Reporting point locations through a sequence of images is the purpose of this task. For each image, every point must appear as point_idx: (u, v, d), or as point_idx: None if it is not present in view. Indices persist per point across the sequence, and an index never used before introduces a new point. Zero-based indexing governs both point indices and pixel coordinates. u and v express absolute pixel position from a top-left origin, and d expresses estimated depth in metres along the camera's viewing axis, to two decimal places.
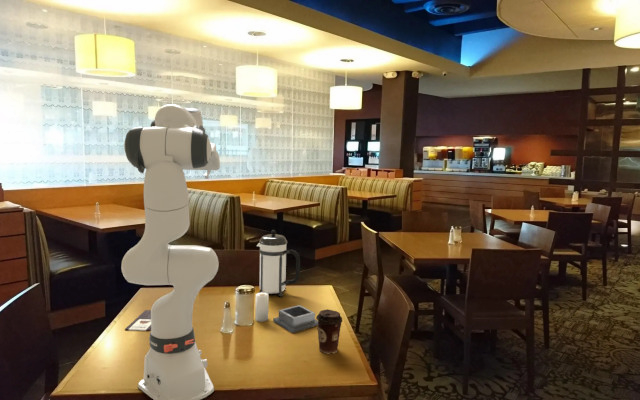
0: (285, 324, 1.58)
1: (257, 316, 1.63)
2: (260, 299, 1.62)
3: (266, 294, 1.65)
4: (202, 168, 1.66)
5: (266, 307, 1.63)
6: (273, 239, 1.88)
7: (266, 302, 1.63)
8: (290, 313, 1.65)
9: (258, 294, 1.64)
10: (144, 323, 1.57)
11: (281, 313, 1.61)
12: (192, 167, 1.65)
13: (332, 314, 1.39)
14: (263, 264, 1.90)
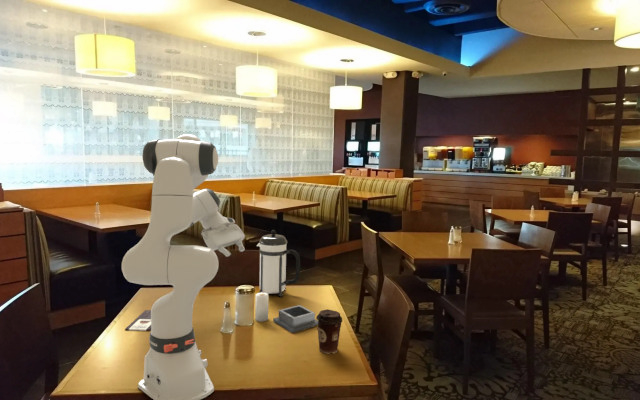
0: (285, 324, 1.58)
1: (257, 316, 1.63)
2: (260, 299, 1.62)
3: (266, 294, 1.65)
4: (235, 237, 1.71)
5: (266, 307, 1.63)
6: (273, 239, 1.88)
7: (266, 302, 1.63)
8: (290, 313, 1.65)
9: (258, 294, 1.64)
10: (145, 323, 1.57)
11: (281, 313, 1.61)
12: (229, 239, 1.68)
13: (332, 314, 1.39)
14: (263, 264, 1.90)
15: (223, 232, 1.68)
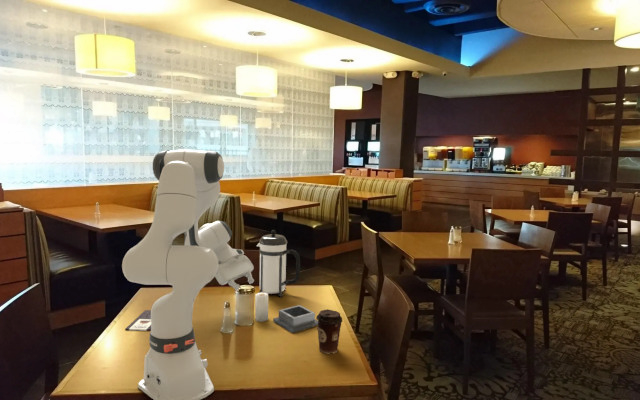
0: (285, 324, 1.58)
1: (257, 316, 1.63)
2: (260, 299, 1.62)
3: (266, 294, 1.65)
4: (245, 270, 1.71)
5: (266, 307, 1.63)
6: (273, 239, 1.88)
7: (266, 302, 1.63)
8: (290, 313, 1.65)
9: (258, 294, 1.64)
10: (145, 323, 1.57)
11: (281, 313, 1.61)
12: (239, 271, 1.67)
13: (332, 314, 1.39)
14: (263, 264, 1.90)
15: (232, 265, 1.68)
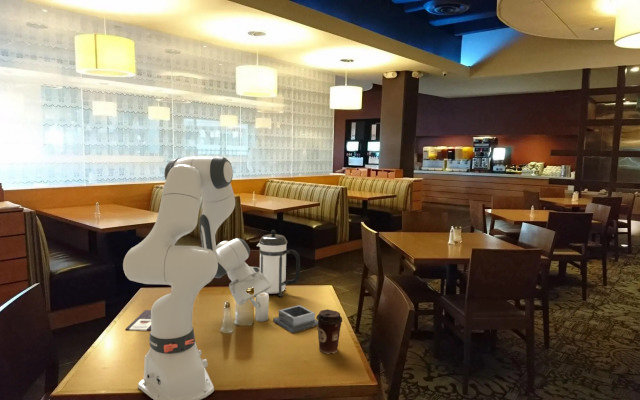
0: (285, 324, 1.58)
1: (257, 316, 1.63)
2: (260, 299, 1.62)
3: (266, 294, 1.65)
4: (262, 288, 1.68)
5: (266, 307, 1.63)
6: (273, 239, 1.88)
7: (266, 302, 1.63)
8: (290, 313, 1.65)
9: (258, 294, 1.64)
10: (145, 323, 1.57)
11: (281, 313, 1.61)
12: (256, 290, 1.65)
13: (332, 314, 1.39)
14: (263, 264, 1.90)
15: (250, 283, 1.65)
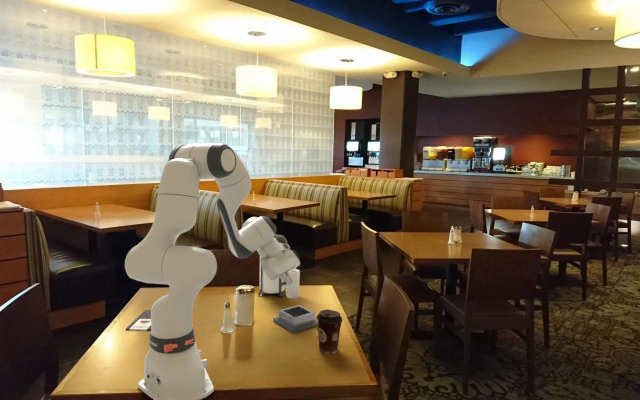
0: (285, 324, 1.58)
1: (288, 292, 1.60)
2: (292, 275, 1.58)
3: (297, 270, 1.61)
4: (292, 265, 1.65)
5: (297, 283, 1.60)
6: None
7: (297, 278, 1.60)
8: (290, 313, 1.65)
9: (289, 270, 1.61)
10: (145, 322, 1.57)
11: (281, 313, 1.61)
12: (287, 266, 1.61)
13: (332, 314, 1.39)
14: None
15: (280, 259, 1.62)
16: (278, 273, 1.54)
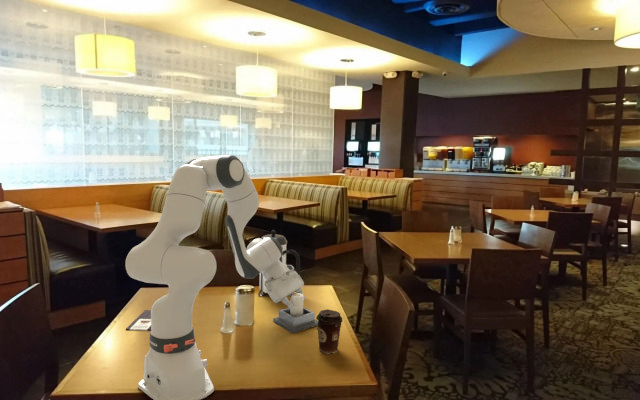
0: (285, 324, 1.58)
1: None
2: (296, 300, 1.59)
3: (301, 295, 1.62)
4: (296, 286, 1.65)
5: (301, 308, 1.60)
6: None
7: (301, 303, 1.60)
8: None
9: (293, 295, 1.61)
10: (145, 322, 1.57)
11: (281, 313, 1.61)
12: (291, 288, 1.62)
13: (332, 314, 1.39)
14: None
15: (284, 281, 1.62)
16: (282, 296, 1.54)
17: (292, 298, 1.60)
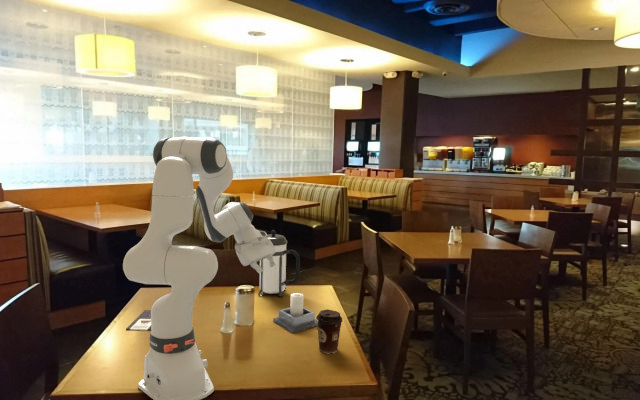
0: (285, 324, 1.58)
1: None
2: (296, 300, 1.59)
3: (301, 295, 1.62)
4: (267, 252, 1.67)
5: (301, 308, 1.60)
6: (273, 239, 1.88)
7: (301, 303, 1.60)
8: None
9: (293, 295, 1.61)
10: (145, 322, 1.57)
11: (281, 313, 1.61)
12: (261, 254, 1.63)
13: (332, 314, 1.39)
14: (263, 264, 1.90)
15: (256, 246, 1.64)
16: (251, 259, 1.56)
17: (292, 298, 1.59)
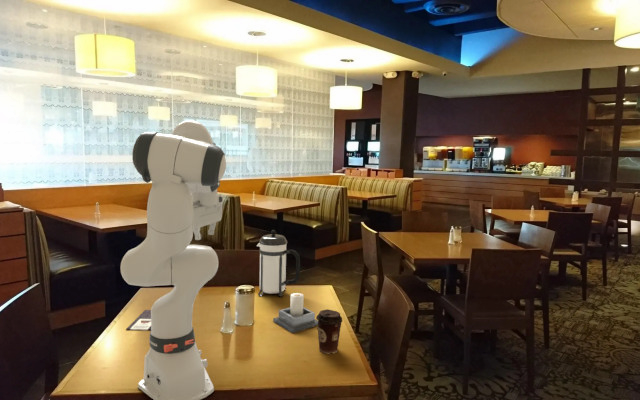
0: (285, 324, 1.58)
1: None
2: (296, 300, 1.59)
3: (301, 295, 1.62)
4: (213, 220, 1.55)
5: (301, 308, 1.60)
6: (273, 239, 1.88)
7: (301, 303, 1.60)
8: None
9: (293, 295, 1.61)
10: (146, 322, 1.57)
11: (281, 313, 1.61)
12: (208, 221, 1.52)
13: (332, 314, 1.39)
14: (263, 264, 1.90)
15: (207, 211, 1.51)
16: (197, 227, 1.44)
17: (292, 298, 1.59)
